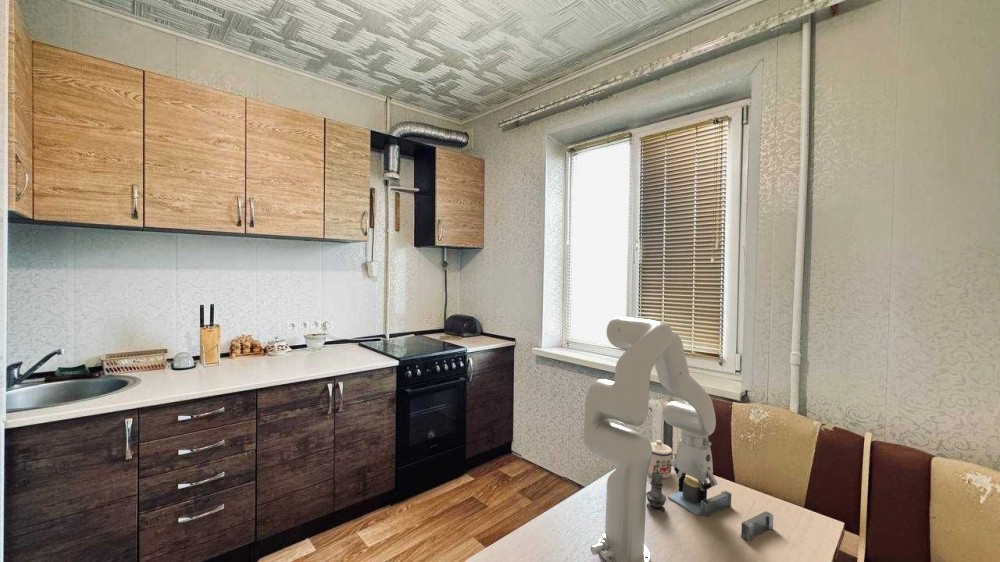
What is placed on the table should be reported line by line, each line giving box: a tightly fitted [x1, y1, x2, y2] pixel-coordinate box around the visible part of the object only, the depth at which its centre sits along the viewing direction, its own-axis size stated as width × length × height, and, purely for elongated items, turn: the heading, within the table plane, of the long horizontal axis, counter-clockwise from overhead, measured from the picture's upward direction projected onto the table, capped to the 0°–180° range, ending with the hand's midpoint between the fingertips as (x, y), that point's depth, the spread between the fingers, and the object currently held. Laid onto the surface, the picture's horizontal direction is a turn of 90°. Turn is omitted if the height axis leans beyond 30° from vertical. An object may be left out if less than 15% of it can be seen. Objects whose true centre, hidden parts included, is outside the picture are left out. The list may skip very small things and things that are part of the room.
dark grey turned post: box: [646, 469, 668, 514], centre depth 121 cm, size 6×6×12 cm
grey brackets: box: [700, 490, 774, 542], centre depth 116 cm, size 12×14×4 cm
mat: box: [667, 491, 701, 516], centre depth 125 cm, size 10×10×1 cm
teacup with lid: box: [648, 439, 677, 479], centre depth 143 cm, size 12×9×12 cm
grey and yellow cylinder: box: [682, 476, 704, 503], centre depth 125 cm, size 6×6×5 cm
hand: (692, 495), depth 125 cm, fingers closed on grey and yellow cylinder, 5 cm apart
